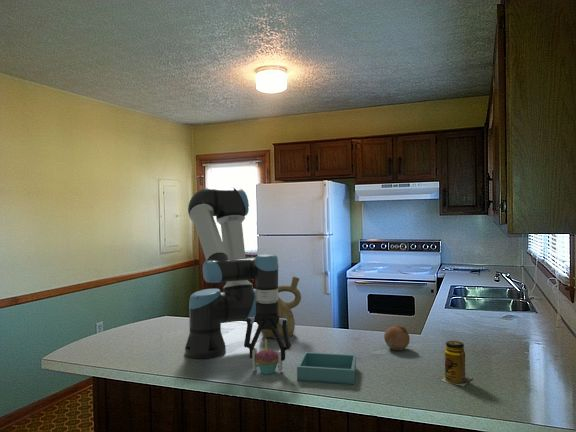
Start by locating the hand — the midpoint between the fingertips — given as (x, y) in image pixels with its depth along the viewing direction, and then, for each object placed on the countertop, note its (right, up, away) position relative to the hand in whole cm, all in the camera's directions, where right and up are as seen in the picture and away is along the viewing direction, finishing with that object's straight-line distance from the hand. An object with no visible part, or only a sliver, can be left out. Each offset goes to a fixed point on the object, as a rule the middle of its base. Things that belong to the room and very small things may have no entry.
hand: (267, 369), depth 151 cm
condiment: (+60, -1, -8) cm, 61 cm away
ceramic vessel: (+3, 0, +43) cm, 43 cm away
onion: (+49, 0, +23) cm, 54 cm away
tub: (+20, -1, -3) cm, 20 cm away
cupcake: (0, -1, 0) cm, 1 cm away
